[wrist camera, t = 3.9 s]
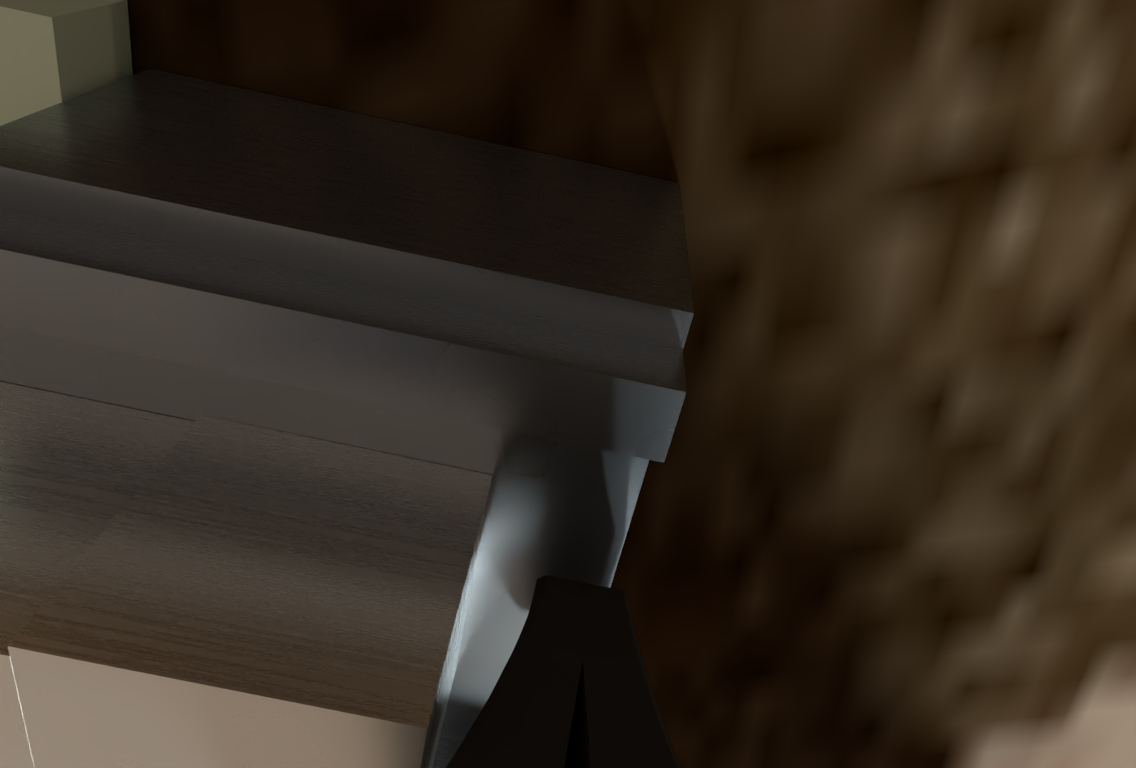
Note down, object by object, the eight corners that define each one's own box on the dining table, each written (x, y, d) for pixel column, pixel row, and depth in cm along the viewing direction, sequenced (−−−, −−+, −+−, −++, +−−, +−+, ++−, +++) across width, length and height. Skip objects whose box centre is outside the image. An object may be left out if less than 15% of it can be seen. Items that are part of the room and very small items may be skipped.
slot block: (679, 182, 14) (698, 353, 9) (567, 598, 19) (539, 857, 14) (150, 68, 14) (-137, 178, 9) (178, 521, 19) (8, 756, 14)
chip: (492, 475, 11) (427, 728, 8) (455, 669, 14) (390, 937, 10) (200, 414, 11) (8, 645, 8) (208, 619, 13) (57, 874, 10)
